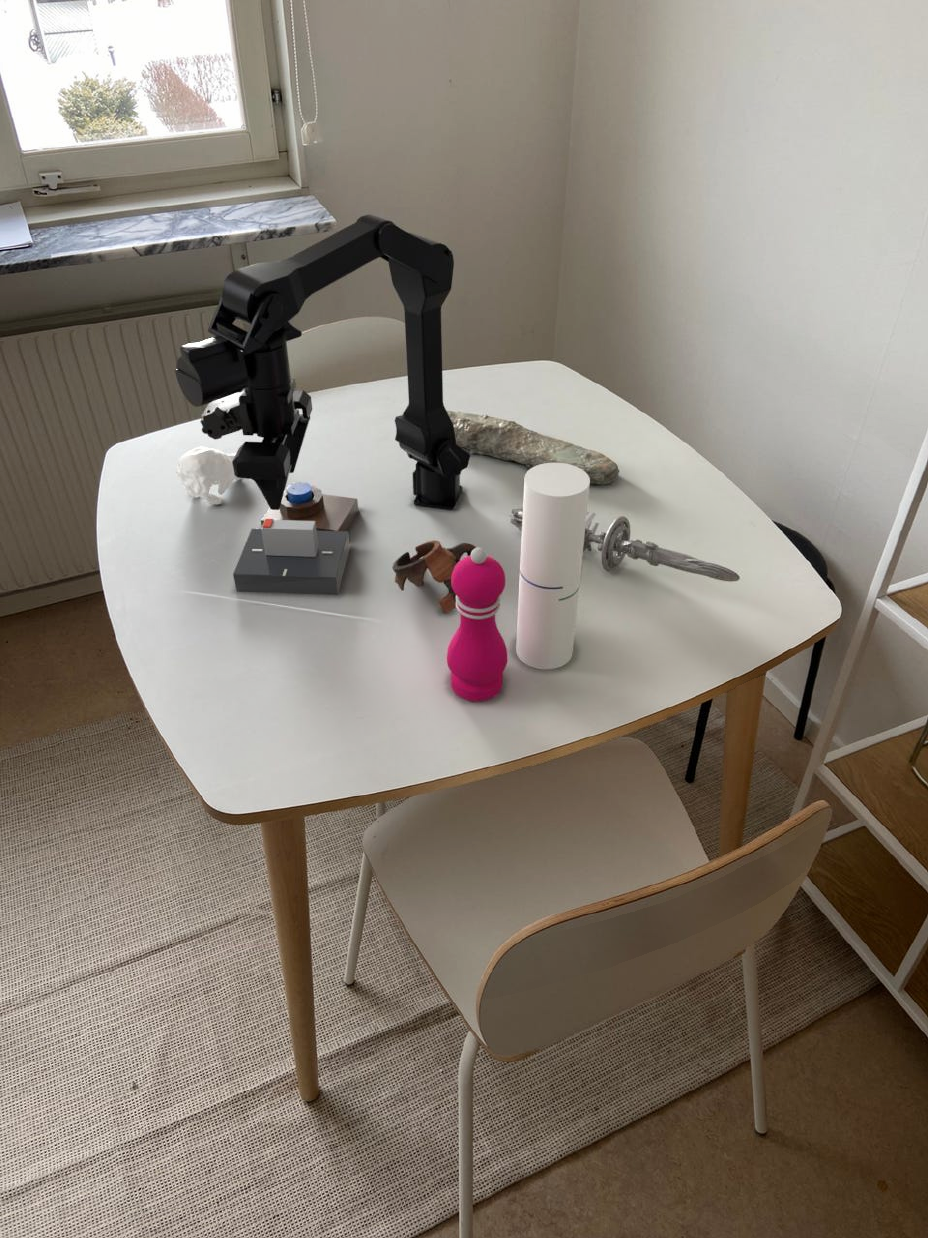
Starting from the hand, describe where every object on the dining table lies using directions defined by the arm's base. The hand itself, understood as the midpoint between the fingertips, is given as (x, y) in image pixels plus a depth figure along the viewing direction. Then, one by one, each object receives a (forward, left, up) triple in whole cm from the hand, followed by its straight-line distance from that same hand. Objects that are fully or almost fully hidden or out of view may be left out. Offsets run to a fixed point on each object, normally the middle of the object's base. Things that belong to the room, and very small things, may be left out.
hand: (282, 490), depth 122 cm
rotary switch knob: (0, 0, -10) cm, 10 cm away
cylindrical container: (-37, +9, -13) cm, 40 cm away
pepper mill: (-30, +17, -13) cm, 37 cm away
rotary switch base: (0, 0, -13) cm, 13 cm away
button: (+3, -12, -9) cm, 16 cm away
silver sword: (-44, -11, -13) cm, 47 cm away
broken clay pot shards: (-21, 0, -13) cm, 25 cm away
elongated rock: (-25, -39, -13) cm, 48 cm away
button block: (+2, -12, -13) cm, 18 cm away
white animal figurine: (+19, -17, -13) cm, 29 cm away
